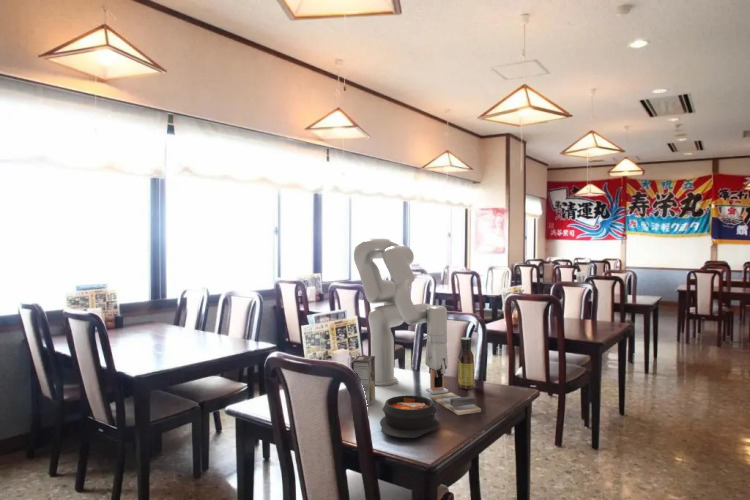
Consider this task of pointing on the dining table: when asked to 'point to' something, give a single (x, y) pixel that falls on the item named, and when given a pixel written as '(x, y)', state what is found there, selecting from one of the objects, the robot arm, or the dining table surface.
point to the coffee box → (366, 375)
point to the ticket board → (459, 412)
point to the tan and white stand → (432, 388)
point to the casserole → (408, 416)
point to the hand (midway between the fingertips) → (437, 386)
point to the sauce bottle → (466, 365)
